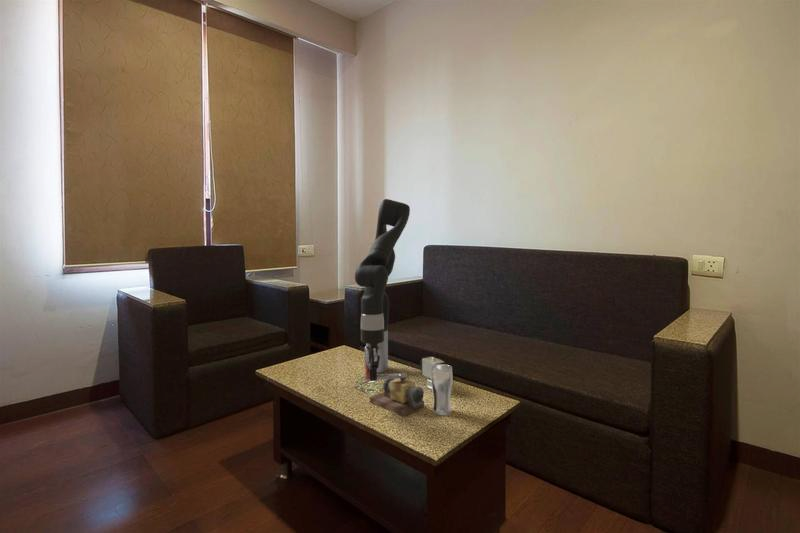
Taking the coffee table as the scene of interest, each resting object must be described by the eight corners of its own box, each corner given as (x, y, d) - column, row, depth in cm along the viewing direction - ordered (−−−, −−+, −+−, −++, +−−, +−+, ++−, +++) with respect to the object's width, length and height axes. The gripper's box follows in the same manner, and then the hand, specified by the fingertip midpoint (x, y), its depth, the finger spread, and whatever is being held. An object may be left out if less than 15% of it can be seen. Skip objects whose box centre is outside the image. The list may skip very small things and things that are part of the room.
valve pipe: (370, 402, 148) (369, 376, 147) (390, 394, 155) (390, 368, 154) (406, 417, 136) (406, 388, 135) (426, 407, 143) (426, 380, 143)
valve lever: (406, 375, 146) (406, 362, 146) (408, 378, 143) (408, 365, 143) (364, 378, 144) (363, 364, 143) (364, 381, 141) (364, 367, 140)
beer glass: (434, 405, 145) (434, 362, 144) (454, 408, 142) (455, 365, 141) (428, 414, 138) (428, 369, 137) (449, 417, 136) (449, 371, 135)
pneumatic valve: (438, 394, 154) (438, 362, 153) (419, 385, 164) (419, 354, 163) (450, 391, 158) (450, 359, 156) (430, 382, 167) (430, 352, 166)
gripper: (387, 330, 132) (388, 385, 133) (380, 322, 145) (381, 372, 146) (363, 331, 130) (364, 387, 131) (358, 323, 143) (359, 374, 144)
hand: (373, 379), depth 138 cm, fingers closed
